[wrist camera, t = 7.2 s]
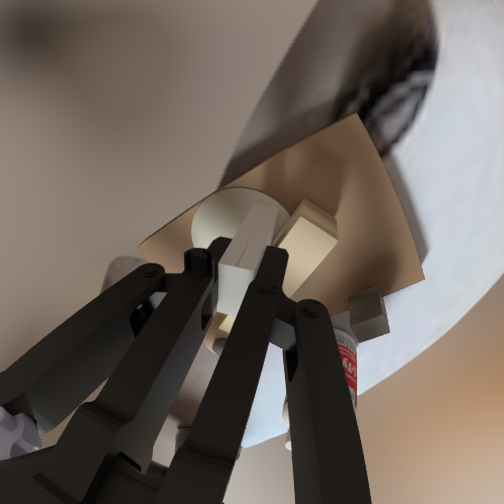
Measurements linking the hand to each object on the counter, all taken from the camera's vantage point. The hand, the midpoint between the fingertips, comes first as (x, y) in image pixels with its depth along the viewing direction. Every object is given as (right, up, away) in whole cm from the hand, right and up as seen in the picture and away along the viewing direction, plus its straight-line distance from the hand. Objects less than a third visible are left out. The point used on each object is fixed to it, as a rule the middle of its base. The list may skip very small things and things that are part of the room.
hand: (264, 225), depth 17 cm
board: (+1, -2, +5) cm, 5 cm away
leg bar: (0, -4, +4) cm, 6 cm away
